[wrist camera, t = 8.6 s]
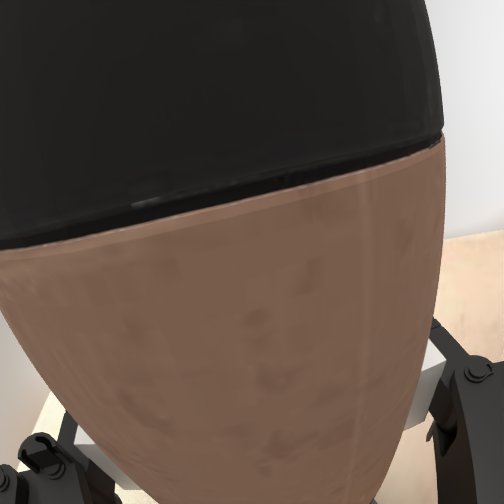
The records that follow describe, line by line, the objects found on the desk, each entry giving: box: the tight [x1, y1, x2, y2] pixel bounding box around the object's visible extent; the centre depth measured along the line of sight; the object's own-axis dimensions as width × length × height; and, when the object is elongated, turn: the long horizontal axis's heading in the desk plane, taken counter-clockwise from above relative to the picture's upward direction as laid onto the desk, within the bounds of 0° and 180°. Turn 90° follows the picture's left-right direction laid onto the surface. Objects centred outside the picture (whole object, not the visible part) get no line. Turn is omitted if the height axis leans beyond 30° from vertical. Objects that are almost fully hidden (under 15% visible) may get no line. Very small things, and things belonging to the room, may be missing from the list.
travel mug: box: [0, 0, 446, 504], centre depth 8 cm, size 8×8×20 cm
